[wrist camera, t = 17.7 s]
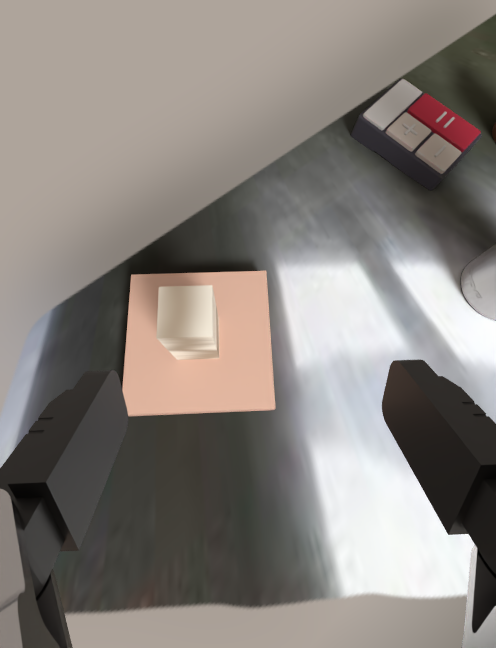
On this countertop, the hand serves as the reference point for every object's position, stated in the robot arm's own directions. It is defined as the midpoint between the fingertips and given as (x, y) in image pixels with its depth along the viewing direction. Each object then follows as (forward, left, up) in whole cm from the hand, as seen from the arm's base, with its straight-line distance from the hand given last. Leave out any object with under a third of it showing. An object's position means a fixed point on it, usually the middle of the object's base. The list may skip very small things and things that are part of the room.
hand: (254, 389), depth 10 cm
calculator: (-27, -39, -29) cm, 56 cm away
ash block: (+5, -8, -25) cm, 27 cm away
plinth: (+5, -9, -28) cm, 30 cm away
